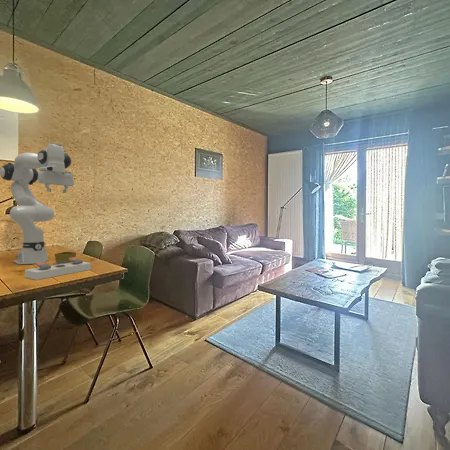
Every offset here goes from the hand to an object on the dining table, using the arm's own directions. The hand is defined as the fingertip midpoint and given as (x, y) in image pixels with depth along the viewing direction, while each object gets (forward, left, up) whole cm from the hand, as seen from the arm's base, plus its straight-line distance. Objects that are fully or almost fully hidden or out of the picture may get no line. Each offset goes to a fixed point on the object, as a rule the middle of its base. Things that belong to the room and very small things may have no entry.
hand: (57, 192), depth 164 cm
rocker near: (+16, -17, -42) cm, 47 cm away
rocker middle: (+16, -8, -42) cm, 45 cm away
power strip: (+16, -8, -48) cm, 51 cm away
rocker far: (+16, +1, -42) cm, 45 cm away
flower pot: (0, +4, -48) cm, 48 cm away
